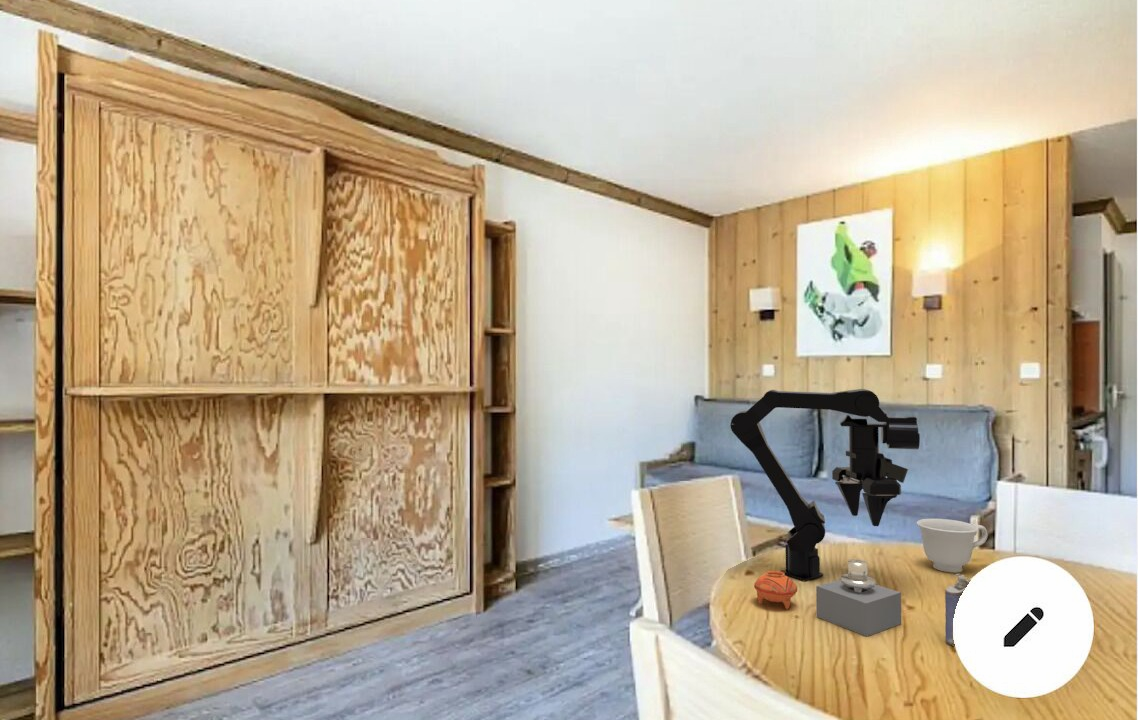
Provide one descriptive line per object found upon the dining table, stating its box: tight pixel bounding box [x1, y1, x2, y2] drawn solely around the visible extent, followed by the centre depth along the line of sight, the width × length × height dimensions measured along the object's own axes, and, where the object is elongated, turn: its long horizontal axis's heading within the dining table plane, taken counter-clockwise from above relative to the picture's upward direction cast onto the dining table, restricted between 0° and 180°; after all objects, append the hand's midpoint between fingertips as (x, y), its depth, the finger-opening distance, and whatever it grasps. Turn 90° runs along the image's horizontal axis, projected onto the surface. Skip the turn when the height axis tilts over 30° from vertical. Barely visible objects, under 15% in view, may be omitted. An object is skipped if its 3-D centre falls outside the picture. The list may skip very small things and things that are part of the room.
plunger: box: [840, 558, 876, 593], centre depth 112 cm, size 7×7×10 cm
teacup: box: [916, 518, 988, 574], centre depth 141 cm, size 12×15×10 cm
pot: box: [753, 570, 798, 610], centre depth 120 cm, size 8×8×7 cm
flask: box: [944, 573, 971, 648], centre depth 104 cm, size 9×3×11 cm, turn 121°
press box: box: [815, 578, 902, 637], centre depth 112 cm, size 10×10×6 cm
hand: (864, 520), depth 133 cm, fingers open, 9 cm apart
